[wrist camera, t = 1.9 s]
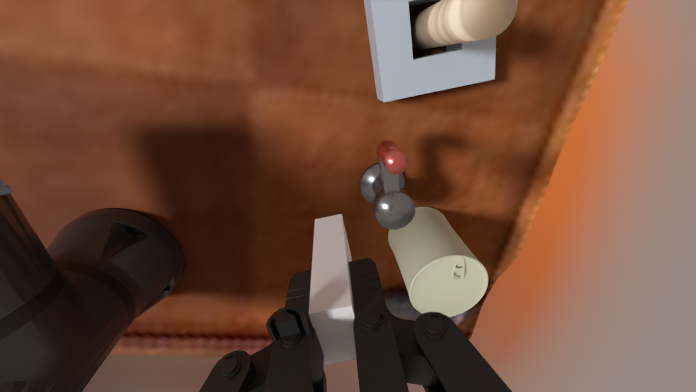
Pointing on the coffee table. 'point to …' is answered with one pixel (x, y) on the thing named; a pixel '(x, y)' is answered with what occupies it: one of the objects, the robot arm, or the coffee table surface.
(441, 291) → the can
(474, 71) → the block
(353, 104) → the coffee table surface
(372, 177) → the crank post
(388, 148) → the chrome ball lever
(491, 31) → the dowel
